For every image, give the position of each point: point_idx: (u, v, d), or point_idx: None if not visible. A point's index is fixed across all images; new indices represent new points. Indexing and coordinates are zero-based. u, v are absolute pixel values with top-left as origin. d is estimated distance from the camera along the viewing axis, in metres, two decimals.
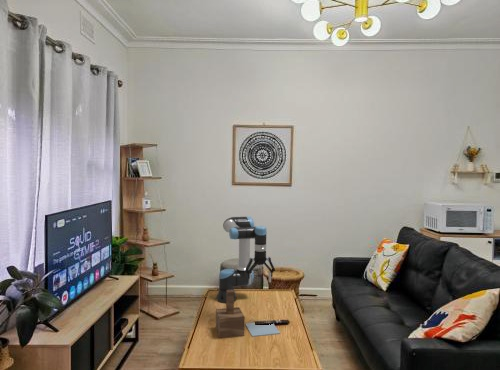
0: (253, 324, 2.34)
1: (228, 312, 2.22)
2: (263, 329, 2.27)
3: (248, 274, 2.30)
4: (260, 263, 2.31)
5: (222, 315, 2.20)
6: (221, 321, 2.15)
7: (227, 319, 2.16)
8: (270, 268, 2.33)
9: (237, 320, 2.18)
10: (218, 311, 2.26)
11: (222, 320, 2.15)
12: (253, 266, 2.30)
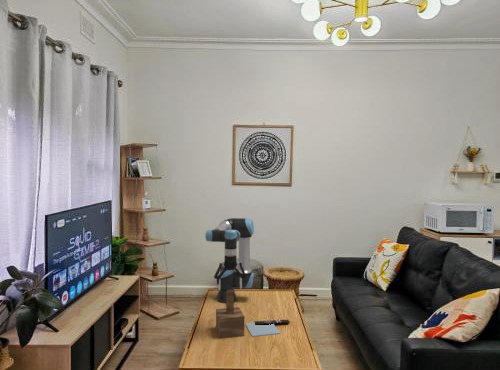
0: (253, 324, 2.34)
1: (228, 312, 2.22)
2: (263, 329, 2.27)
3: (217, 280, 2.20)
4: (230, 268, 2.22)
5: (222, 315, 2.20)
6: (221, 321, 2.15)
7: (227, 319, 2.16)
8: (241, 274, 2.23)
9: (237, 320, 2.18)
10: (218, 311, 2.26)
11: (222, 320, 2.15)
12: (223, 271, 2.20)
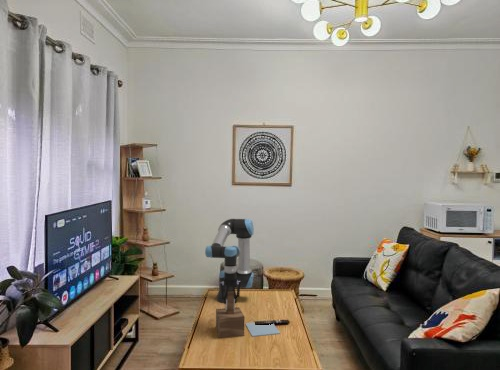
0: (253, 324, 2.34)
1: (228, 312, 2.22)
2: (263, 329, 2.27)
3: (224, 299, 2.22)
4: (230, 285, 2.22)
5: (222, 315, 2.20)
6: (221, 321, 2.15)
7: (227, 319, 2.16)
8: (235, 294, 2.23)
9: (237, 320, 2.18)
10: (218, 311, 2.26)
11: (222, 320, 2.15)
12: (226, 290, 2.22)
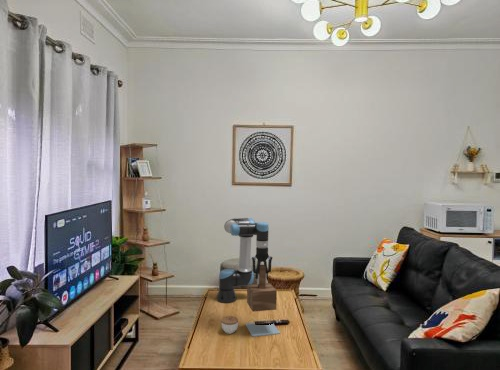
0: (253, 324, 2.34)
1: (260, 286, 2.25)
2: (263, 329, 2.27)
3: (256, 274, 2.26)
4: (262, 260, 2.26)
5: (255, 289, 2.23)
6: (254, 295, 2.19)
7: (260, 293, 2.19)
8: (267, 268, 2.27)
9: (269, 294, 2.21)
10: (250, 286, 2.29)
11: (255, 294, 2.19)
12: (258, 265, 2.25)
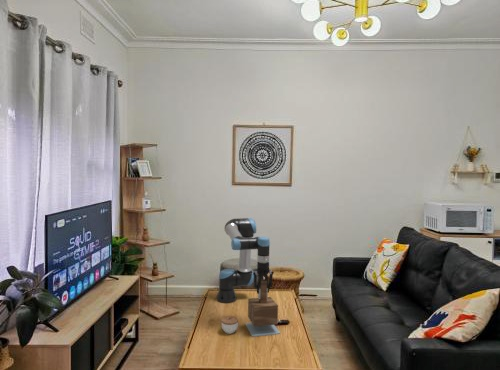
0: None
1: (261, 301, 2.26)
2: (263, 329, 2.27)
3: (257, 289, 2.26)
4: (263, 275, 2.26)
5: (256, 304, 2.24)
6: (255, 310, 2.19)
7: (261, 308, 2.20)
8: (268, 283, 2.27)
9: (271, 309, 2.22)
10: (251, 300, 2.30)
11: (256, 309, 2.19)
12: (259, 280, 2.26)
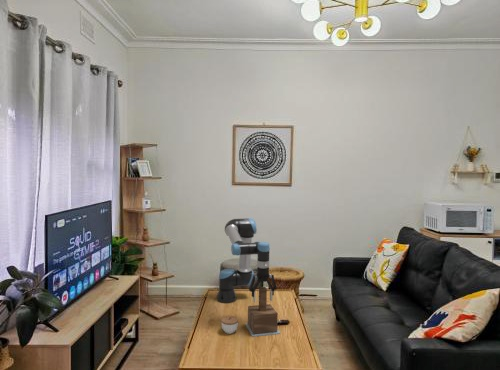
0: None
1: (261, 309, 2.26)
2: None
3: (252, 292, 2.25)
4: (263, 280, 2.26)
5: (256, 312, 2.24)
6: (255, 318, 2.19)
7: (261, 316, 2.20)
8: None
9: (270, 317, 2.22)
10: (251, 308, 2.30)
11: (256, 317, 2.20)
12: (257, 284, 2.25)
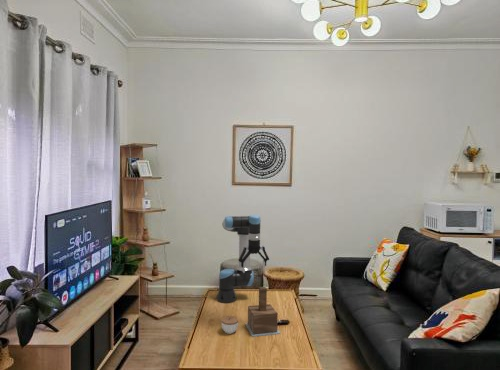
0: None
1: (261, 309, 2.26)
2: None
3: (242, 263, 2.30)
4: (254, 252, 2.31)
5: (256, 312, 2.24)
6: (255, 318, 2.19)
7: (261, 316, 2.20)
8: None
9: (270, 317, 2.22)
10: (251, 308, 2.30)
11: (256, 317, 2.20)
12: (247, 255, 2.30)
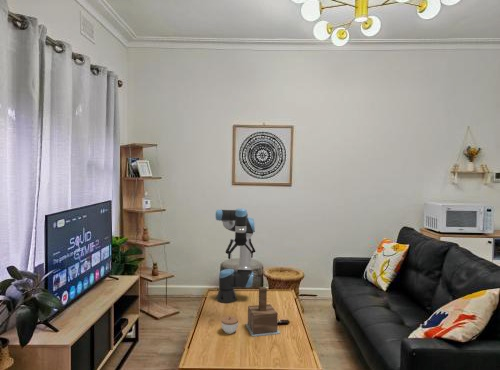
0: None
1: (261, 309, 2.26)
2: None
3: (229, 254, 2.38)
4: (240, 244, 2.39)
5: (256, 312, 2.24)
6: (255, 318, 2.19)
7: (261, 316, 2.20)
8: (250, 249, 2.41)
9: (270, 317, 2.22)
10: (251, 308, 2.30)
11: (256, 317, 2.20)
12: (233, 247, 2.38)
